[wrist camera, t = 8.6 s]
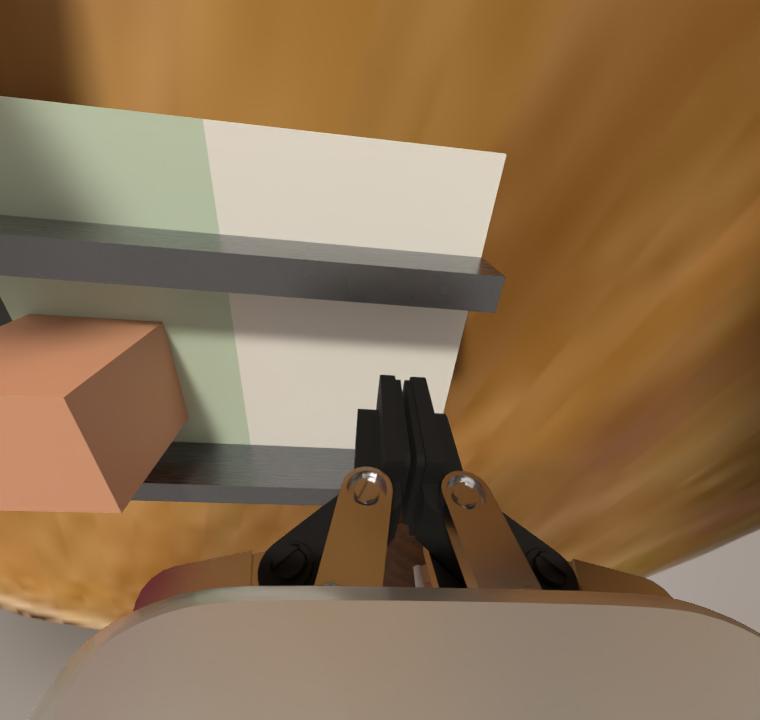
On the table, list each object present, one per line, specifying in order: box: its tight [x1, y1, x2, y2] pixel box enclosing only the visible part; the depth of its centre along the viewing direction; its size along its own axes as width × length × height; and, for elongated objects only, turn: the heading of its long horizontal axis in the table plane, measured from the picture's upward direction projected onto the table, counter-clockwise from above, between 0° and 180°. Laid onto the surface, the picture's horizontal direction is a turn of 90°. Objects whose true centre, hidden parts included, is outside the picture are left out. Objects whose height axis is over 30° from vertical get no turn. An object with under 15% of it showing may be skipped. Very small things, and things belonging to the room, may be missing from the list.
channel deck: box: [0, 96, 506, 449], centre depth 15 cm, size 25×18×3 cm
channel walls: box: [0, 215, 505, 506], centre depth 13 cm, size 25×11×2 cm, turn 85°
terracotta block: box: [0, 314, 189, 513], centre depth 12 cm, size 5×5×5 cm
